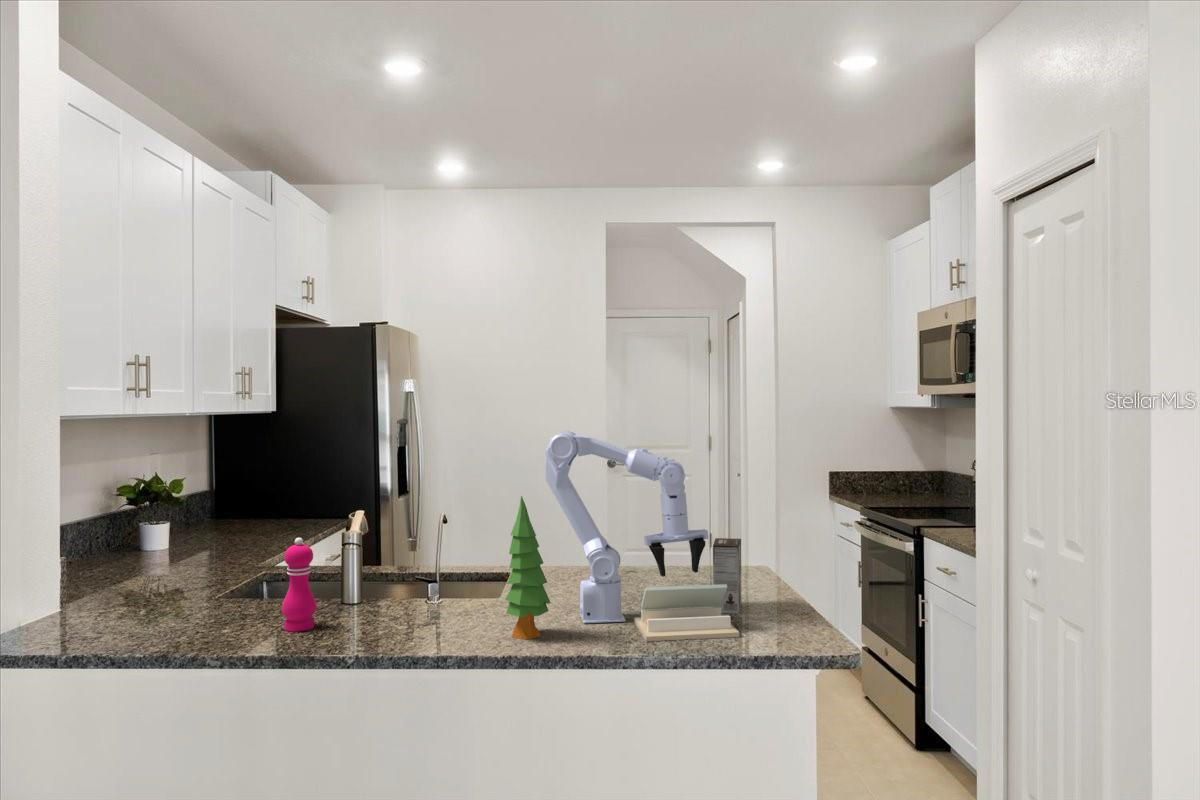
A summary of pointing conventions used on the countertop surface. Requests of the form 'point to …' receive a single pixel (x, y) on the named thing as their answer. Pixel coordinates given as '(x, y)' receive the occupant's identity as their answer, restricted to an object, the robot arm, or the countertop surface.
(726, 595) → the coffee box
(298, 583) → the pepper mill
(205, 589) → the countertop surface
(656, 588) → the panel
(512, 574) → the decorative tree
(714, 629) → the duct base
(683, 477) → the robot arm
